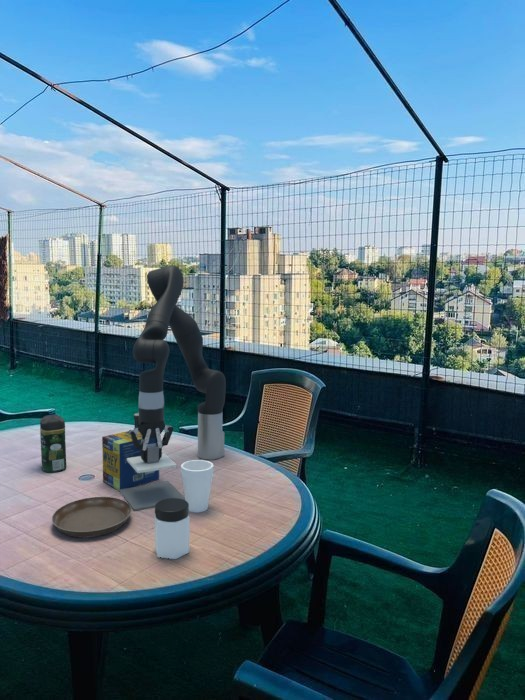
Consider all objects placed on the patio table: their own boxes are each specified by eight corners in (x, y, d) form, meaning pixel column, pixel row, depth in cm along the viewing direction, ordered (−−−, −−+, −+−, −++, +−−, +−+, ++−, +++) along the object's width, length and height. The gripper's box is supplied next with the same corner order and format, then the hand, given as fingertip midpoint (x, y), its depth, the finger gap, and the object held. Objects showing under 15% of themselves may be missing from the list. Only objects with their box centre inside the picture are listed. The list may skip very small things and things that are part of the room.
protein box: (102, 482, 172) (101, 436, 170) (142, 470, 183) (142, 427, 181) (119, 491, 165) (118, 443, 163) (160, 479, 176) (159, 434, 174)
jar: (175, 538, 136) (175, 494, 135) (196, 549, 131) (196, 503, 130) (146, 551, 130) (146, 505, 128) (168, 563, 124) (168, 515, 123)
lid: (163, 455, 169) (163, 437, 169) (176, 467, 159) (177, 448, 158) (126, 460, 163) (126, 442, 163) (137, 473, 153) (137, 454, 152)
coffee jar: (40, 465, 186) (38, 414, 184) (63, 462, 190) (62, 412, 188) (43, 474, 178) (41, 421, 175) (68, 471, 182) (66, 418, 179)
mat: (168, 482, 173) (168, 480, 173) (186, 500, 160) (186, 498, 160) (119, 491, 166) (119, 489, 165) (134, 511, 152) (134, 509, 152)
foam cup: (186, 517, 149) (187, 473, 147) (176, 504, 157) (176, 462, 155) (217, 511, 153) (218, 468, 151) (206, 499, 161) (206, 458, 159)
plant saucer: (87, 550, 130) (87, 538, 130) (35, 528, 141) (35, 516, 140) (147, 519, 147) (147, 508, 147) (97, 501, 158) (96, 491, 158)
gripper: (169, 400, 166) (169, 453, 168) (124, 404, 159) (125, 459, 161) (177, 405, 159) (177, 460, 161) (131, 410, 152) (131, 467, 154)
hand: (151, 460), depth 161 cm, fingers closed on lid, 3 cm apart
